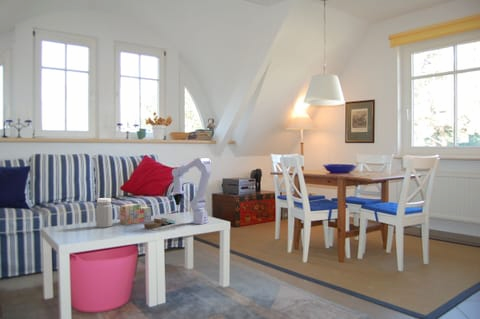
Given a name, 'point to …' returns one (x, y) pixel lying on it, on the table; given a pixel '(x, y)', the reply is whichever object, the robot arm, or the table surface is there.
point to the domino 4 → (168, 220)
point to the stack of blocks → (134, 214)
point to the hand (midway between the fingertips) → (177, 204)
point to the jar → (104, 213)
